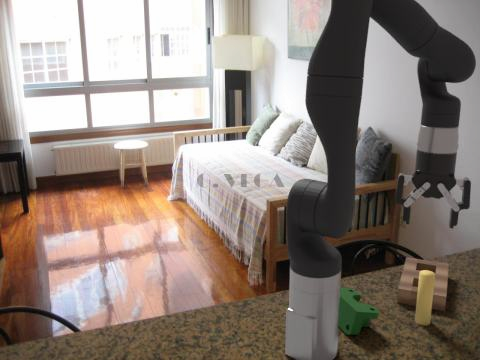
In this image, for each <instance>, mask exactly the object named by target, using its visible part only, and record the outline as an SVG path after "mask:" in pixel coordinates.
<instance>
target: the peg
mask: <svg viewBox="0 0 480 360" xmlns="http://www.w3.org/2000/svg"><path fill="white" fill-rule="evenodd" d="M434 281H435V273H434V272H432V271H428V270H422V271H420V273H419V283H418V294H417V304H416V306H415V316H414V317H415V318H414V322H415V323H416V324H418V325H420V326H429V325H430V324H431V319H432V318H431V317H432V310H433V309H432V300H433V290H434Z"/></svg>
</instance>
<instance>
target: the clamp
mask: <svg viewBox="0 0 480 360" xmlns="http://www.w3.org/2000/svg"><path fill="white" fill-rule="evenodd" d="M361 298H362V295H361V294H360V293H359V292H358V291H356V290H355V289H353V288H350V287H341V286H340V303H339V323H338V328H340V329H341V331H342V332H343V333H344V334H345V335H348V336H358V335H360V333H361V329H362V328H363V327H364V328H367V327H369V326H370V324H371V323H370V322H371V320H378V318H379V314H380V310H379V309H378V308H376V306H374V305H369V304H365V303H362V302H360V301H361Z"/></svg>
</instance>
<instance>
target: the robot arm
mask: <svg viewBox="0 0 480 360" xmlns="http://www.w3.org/2000/svg"><path fill="white" fill-rule="evenodd" d="M370 19H371V20H373V21H374V22H375V23H377V24H378V25H379V26H380V27H381V28H382V29H383V30H384V31H385V32H387V33H388V34H389V35H390V36H391V38H393V40H394V41H395V42H396V43H397V44H398V45H400V47H401V48H402V49H404V51H406V53H407V54H409V55H410V56H413V57H415V58H418V61H417V67H416V69H417V70H416V73H417V80H418V85H419V92H420V98H421V101H422V106H421V107H422V108H421V117H420V127H419V131H418V135H417V143H416V152H415V153H416V155H415V166H414V173H413V174H412V175H411V174H410V175H409V174H404V173H403V172H400V173H399V174H398V176H397V181H396V187H395V188H396V189H395V194H394V202H395V204H398V205H399V204H400V205H402V207H403V208H402V221H403V222H405V225H410V219H411V209H412V208H411V205H412V204H413V203H414V202H416V201H417V200H418V199H419V198H420V197H423V198H426V199H429V198H433V199H437V200H440V199H442V198H445V199H444V200H445V201H446V202H447V203H448V204H449V205H450V207H451V208H450V212H449V220H448V221H449V222H448V228H449V229H454V227H457V225H458V222H459V213H460V211H461V210H469V209H470V207H471V188H472V181H471V180H470V178H469V177H463V178H456V177H455V175H456V174H455V173H456V164H457V156H458V150H459V140H460V139H459V134H460V133H459V126H460V118H461V110H462V109H461V108H462V106H461V105H462V103H461V99H460V98H459V97H457V96H456V95H454V94H452V93H450V92H449V90H448V87H447V84H446V83H449V84H451V83H452V84H459V83H463V82H465V81H467V80H469V79H470V77H472V75H473V74H474V72H475V69H476V65H477V60H476V54H475V53H474V51H473V49H472V48H471V47H470V45H469V44H468V43H466V42H465V41H464V40H463V39H461V38H460V37H458V36H456V34H454V33H452V32H451V31H449V30H448V29H446V28H444V27H442V26H440V24H438V22H437V21H436V19H435V18H434V17H432V15H431V14H430V13H429V12H428V11H427V10H426V9H425V7H424V6H422V4H420V3H419V2H418V1H417V0H332V2H331V8H330V12H329V16H328V18H327V21H326V23H325V26H324V28H323V29H322V32H321V34H320V36H319V37H318V40H317V42H316V44H315V46H314V49H313V51H312V53H311V55H310V56H311V57H310V59H309V62H308V65H307V73H306V74H307V75H306V85H305V86H306V87H305V102H304V103H305V108H306V111H307V115H308V117H309V120H310V122H311V124H312V127H313V129H314V131H315V133H316V135H317V137H318V139H319V141H320V143H321V145H322V148H323V151H324V155H325V159H326V169H327V173H326V174H327V178H326V179H327V180H326V181H327V182H326V181H322V180H316V179H311V178H302V179H299V180H296V182H294V184H293V185H292V186H291V188H290V190H289V193H288V195H287V200H286V206H285V207H286V208H285V219H286V220H285V223H286V225H285V227H286V251H287V255H288V258H289V288H288V289H289V290H288V291H289V294H288V295H289V299H288V300H289V302H288V308H287V309H286V310H285V349H284V350H285V351H284V352H285V353H284V354H285V355H287V356H288V357H290V358H293V359H294V360H334V359H335V358H336V356H337V354H338V342H339V340H338V339H339V326H338V323H339V303H340V287H341V283H342V282H341V281H342V280H341V278H342V267H343V266H342V265H343V264H342V263H343V261H342V260H343V259H342V254H341V252H340V251H339V250H338V248H336V247H334V245H332V244H330V243H329V241H327V240H326V239H325V238H324V237H326V238H327V237H328V238H330V239H342V238H344V237H345V236H346V235H347V233H348V232H349V230H350V228H351V226H352V223H353V219H354V214H355V208H356V207H355V205H356V180H357V179H356V173H357V172H356V171H357V170H356V169H357V166H356V165H357V163H356V162H357V159H356V158H357V157H356V156H357V143H358V130H359V120H360V112H361V106H362V105H361V104H362V98H363V87H364V78H365V77H364V75H365V61H366V52H367V44H368V43H367V42H368V35H369V27H370ZM409 182H411V183H412V185H413V186H414V188H413V189H412V190H411V191H410V192H409V194H408V195H407V196H406V197H404V196H403V191H404V187H405V186H408V184H409ZM456 185H457V186H458V188H459V190H460V191H462V192H461V193H462V195H461V201H458V202H457V201H456V199H455V198H454V196H453V195H452V192H451V191H452V189H453V188H455V187H456Z"/></svg>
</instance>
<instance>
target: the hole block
mask: <svg viewBox="0 0 480 360" xmlns="http://www.w3.org/2000/svg"><path fill="white" fill-rule="evenodd" d="M449 264H450V263H447V262H439V261H433V260H426V259H419V258H413V257H406V258H405V261H404V265H403V268H402V271H401V275H400V276H401V277H400V280H399V284H398V287H397V288H398V289H397V297H396V299H397V300H396V303H397V304H403V305H409V306H412V307H413V306H414V307H416V304H417V294H418V283H419V273H420V271H422V270H428V271H432V272H434V273H435V281H434V290H433V300H432V310H435V311H436V310H437V311H440V312H442V311H443V312H445V311H446V304H447V294H448V293H447V292H448V282H449V280H448V279H449Z"/></svg>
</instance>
